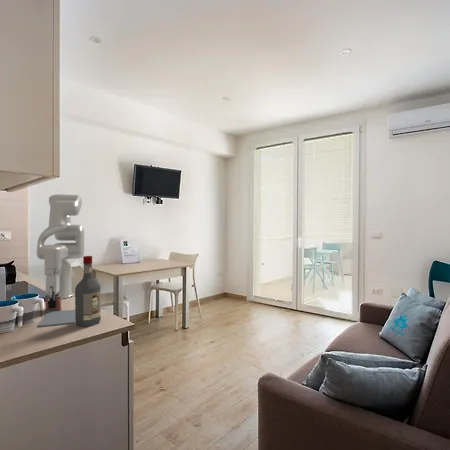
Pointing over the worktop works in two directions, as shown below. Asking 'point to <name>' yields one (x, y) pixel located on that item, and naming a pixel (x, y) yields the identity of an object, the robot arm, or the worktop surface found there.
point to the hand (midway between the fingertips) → (53, 305)
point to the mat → (58, 318)
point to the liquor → (87, 297)
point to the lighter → (58, 303)
